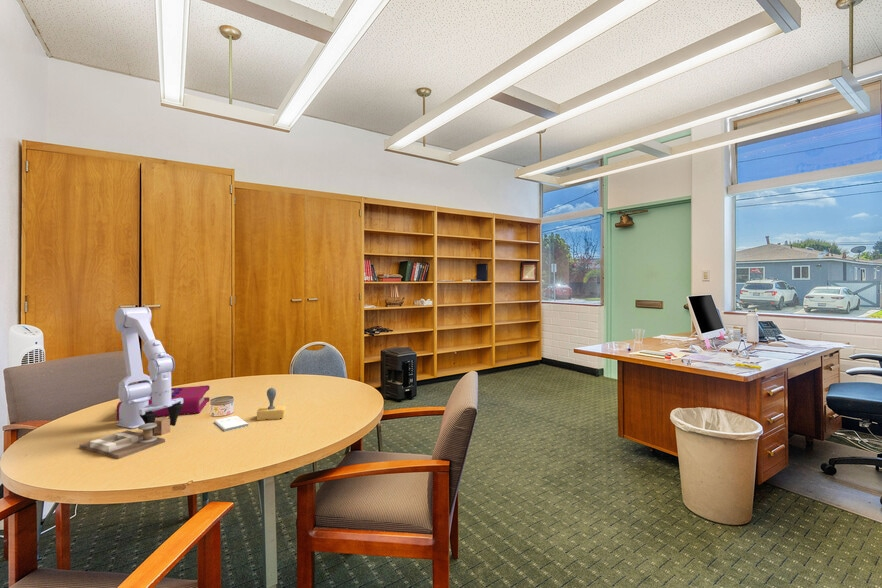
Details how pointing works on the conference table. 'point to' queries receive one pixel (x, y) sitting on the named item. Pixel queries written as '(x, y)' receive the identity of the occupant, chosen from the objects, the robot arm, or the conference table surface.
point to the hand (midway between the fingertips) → (162, 428)
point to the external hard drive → (231, 423)
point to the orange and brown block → (162, 426)
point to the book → (184, 400)
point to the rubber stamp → (271, 408)
